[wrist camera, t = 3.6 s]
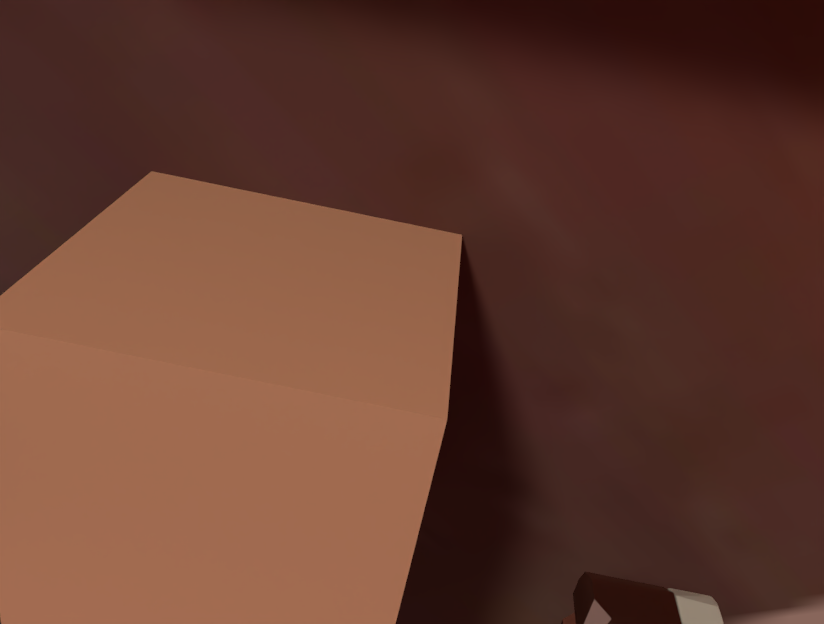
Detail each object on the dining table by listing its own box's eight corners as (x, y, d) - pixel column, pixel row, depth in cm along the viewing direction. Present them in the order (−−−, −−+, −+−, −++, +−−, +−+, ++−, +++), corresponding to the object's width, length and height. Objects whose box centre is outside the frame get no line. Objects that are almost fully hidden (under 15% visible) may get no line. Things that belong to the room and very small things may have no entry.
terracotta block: (148, 420, 15) (3, 643, 10) (153, 169, 12) (-33, 321, 8) (407, 472, 15) (371, 715, 10) (462, 232, 12) (447, 418, 8)
